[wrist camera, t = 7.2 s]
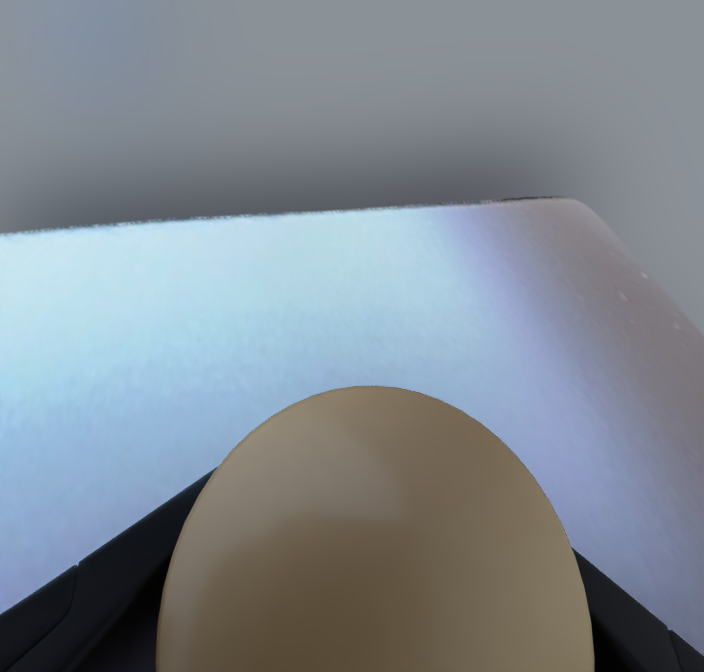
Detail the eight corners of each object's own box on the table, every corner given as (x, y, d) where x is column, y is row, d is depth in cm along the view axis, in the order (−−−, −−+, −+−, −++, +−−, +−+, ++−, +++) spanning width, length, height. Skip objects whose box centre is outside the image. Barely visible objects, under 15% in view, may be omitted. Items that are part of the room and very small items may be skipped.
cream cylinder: (443, 538, 14) (668, 588, 5) (341, 674, 12) (396, 1217, 3) (345, 434, 15) (375, 323, 6) (240, 537, 13) (64, 588, 4)
